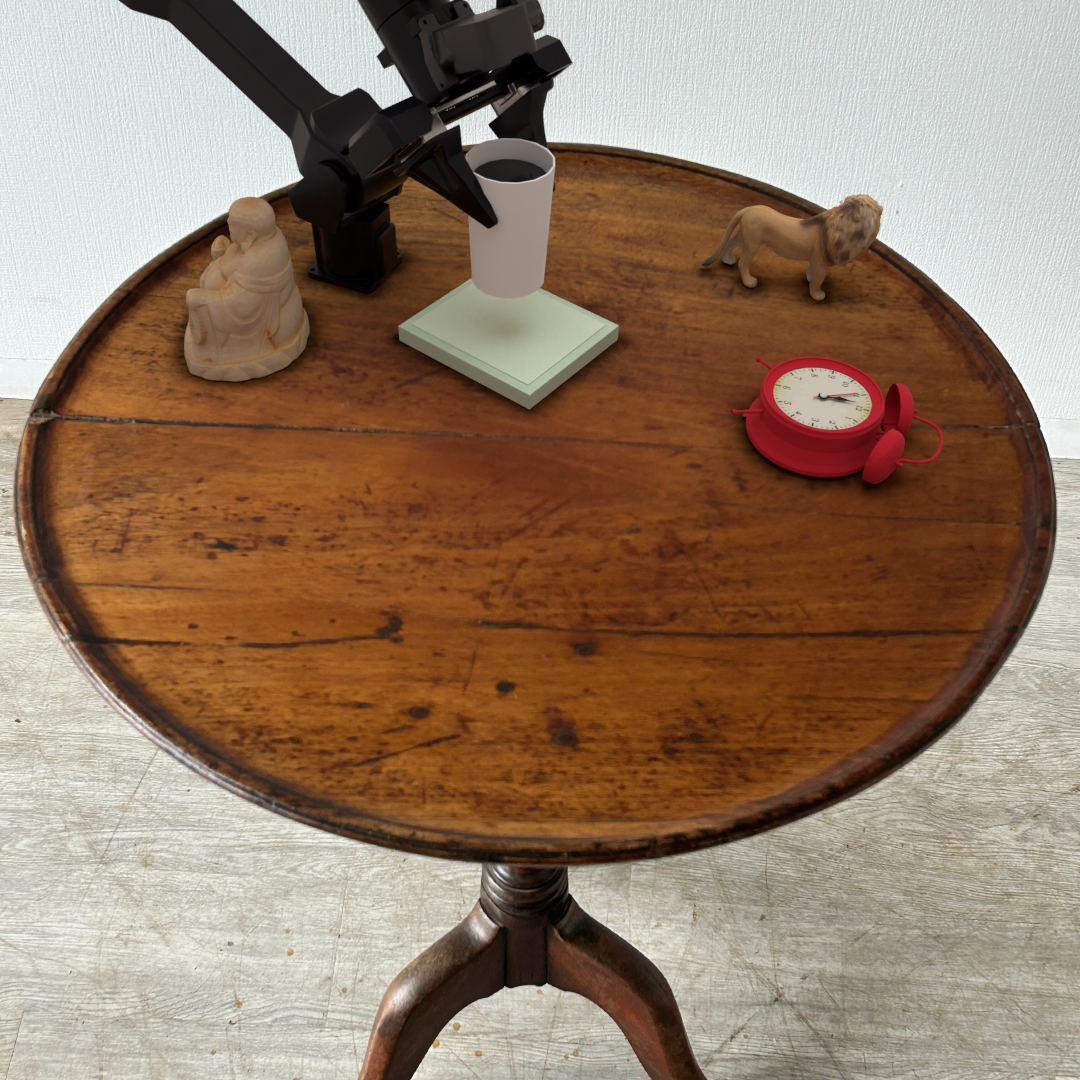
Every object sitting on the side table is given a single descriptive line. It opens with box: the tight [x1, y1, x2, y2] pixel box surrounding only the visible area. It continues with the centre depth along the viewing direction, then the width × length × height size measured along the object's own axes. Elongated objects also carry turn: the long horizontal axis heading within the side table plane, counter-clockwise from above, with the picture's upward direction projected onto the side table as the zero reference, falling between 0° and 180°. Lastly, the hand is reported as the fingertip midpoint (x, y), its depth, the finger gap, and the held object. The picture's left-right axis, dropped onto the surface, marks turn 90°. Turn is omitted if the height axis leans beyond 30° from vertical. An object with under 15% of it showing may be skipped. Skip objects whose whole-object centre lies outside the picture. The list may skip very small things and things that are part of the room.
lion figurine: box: [700, 193, 884, 302], centre depth 99 cm, size 15×5×9 cm, turn 80°
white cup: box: [465, 138, 556, 298], centre depth 86 cm, size 7×7×10 cm
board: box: [397, 277, 620, 410], centre depth 94 cm, size 14×12×2 cm
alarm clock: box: [730, 356, 944, 485], centre depth 85 cm, size 10×6×15 cm
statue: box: [183, 196, 311, 382], centre depth 90 cm, size 12×14×10 cm
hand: (522, 209), depth 84 cm, fingers closed on white cup, 6 cm apart
